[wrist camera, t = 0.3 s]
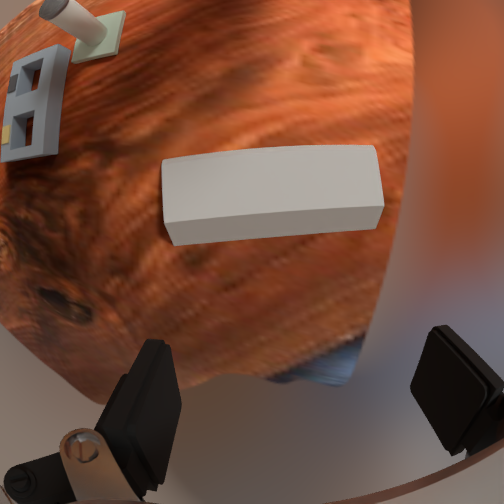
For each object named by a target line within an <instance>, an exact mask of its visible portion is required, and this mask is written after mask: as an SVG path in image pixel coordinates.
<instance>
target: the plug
mask: <svg viewBox="0 0 504 504" xmlns="http://www.w3.org/2000/svg"><path fill="white" fill-rule="evenodd" d="M39 16H40V17H41V18H43V19H45V20H48V21H50V22H51V23H53V24H55V25H56V26H58V27H60V28H61V29H63V30H64V31H66V32H68V33H69V34H71V35H72V36H74V37H76V38H77V39H79V40H80V41H82V42H83V43H85V44H86V45H88V46H95V45H98V44H99V43H101V42H102V41H103V40H104V38H105V37H106V35H107V27H106V26H105V25H104V24H102V23H101V22H100V21H99V20H98V19H97V18H95V17H94V16H93V15H92V14H91V13H89V12H88V11H87V10H86V9H85V8H83V7H82V6H81V5H80V4H79V3H77V2H76V1H75V0H45V1H44V3H43V4H42V6H41V8H40V10H39Z"/></svg>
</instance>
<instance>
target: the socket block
mask: <svg viewBox="0 0 504 504" xmlns="http://www.w3.org/2000/svg"><path fill="white" fill-rule="evenodd" d="M70 54H71V50H69V49H67V48H65V47H64V46H62V45H60V44H56V45H54V46H51V47H48V48H46V49H43V50H41V51H38V52H36V53H33V54H31V55H29V56H26V57H24V58H22V59H20V60H18V61H16V62H14V63H13V67H12V71H11V76H10V81H9V86H8V92H7V98H6V104H5V112H4V120H3V130H2V143H1V162H12V161H19V160H24V159H30V158H36V157H42V156H48V155H55V154H58V143H59V128H60V117H61V108H62V99H63V92H64V86H65V79H66V74H67V68H68V63H69V58H70ZM39 69H41V74H40V79H39V84H38V89H37V90H34V91H31V88H32V82H33V77H34V72H35V71H36V70H39ZM30 117H34V121H33V133H32V145H30V146H26V147H25V140H26V127H27V118H30Z"/></svg>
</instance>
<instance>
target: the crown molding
mask: <svg viewBox="0 0 504 504" xmlns="http://www.w3.org/2000/svg"><path fill="white" fill-rule="evenodd" d="M162 194H163V213H164V224H165V226H166V229H167V231H168V233H169V236H170V238H171V240H172V242H173V245H174V246H178V245H189V244H199V243H210V242H221V241H232V240H243V239H255V238H266V237H278V236H290V235H302V234H314V233H327V232H340V231H353V230H366V229H376V226H377V224H378V221H379V218H380V216H381V213H382V210H383V208H384V199H383V192H382V185H381V178H380V171H379V165H378V160H377V154H376V150H375V148H374V146H373V145H308V146H285V147H268V148H255V149H243V150H233V151H223V152H214V153H206V154H198V155H191V156H184V157H177V158H171V159H164V160H163V162H162Z"/></svg>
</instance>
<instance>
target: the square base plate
mask: <svg viewBox="0 0 504 504" xmlns="http://www.w3.org/2000/svg"><path fill="white" fill-rule="evenodd" d="M125 17H126V13H125V12H124V10H123V11H119V12H115V13H111V14H107V15H103V16H99V17H96V18H97V19H98V20H99V21H100V22H101V23H102V24H104V25H105V26H106V27H107V35H106V37H105V38H104V40H103V41H102V42H101V43H99V44H98V45H95V46H88V45H86V44H85V43H83V42H82V41H80V40H79V39H76V43H75V47H74V52H73V56H72V61H71V62H72V63H74V64H78V63H81V62H85V61H89V60H93V59H98V58H102V57H107V56H112V55H117V54H118V49H119V43H120V39H121V34H122V29H123V25H124V21H125Z"/></svg>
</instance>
